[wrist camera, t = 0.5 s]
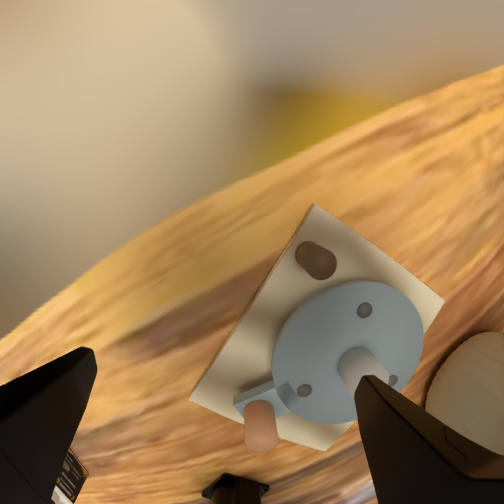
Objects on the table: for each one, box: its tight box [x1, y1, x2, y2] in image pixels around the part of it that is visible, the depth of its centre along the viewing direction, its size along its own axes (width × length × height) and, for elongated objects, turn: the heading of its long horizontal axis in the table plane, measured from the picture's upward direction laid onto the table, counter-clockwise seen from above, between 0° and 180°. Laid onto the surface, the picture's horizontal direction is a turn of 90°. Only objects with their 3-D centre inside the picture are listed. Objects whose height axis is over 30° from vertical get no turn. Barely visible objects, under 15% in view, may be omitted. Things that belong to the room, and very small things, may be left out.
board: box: [188, 204, 445, 452], centre depth 22 cm, size 20×16×5 cm
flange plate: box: [233, 279, 424, 452], centre depth 19 cm, size 16×13×5 cm
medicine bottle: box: [49, 448, 88, 504], centre depth 20 cm, size 7×7×12 cm
